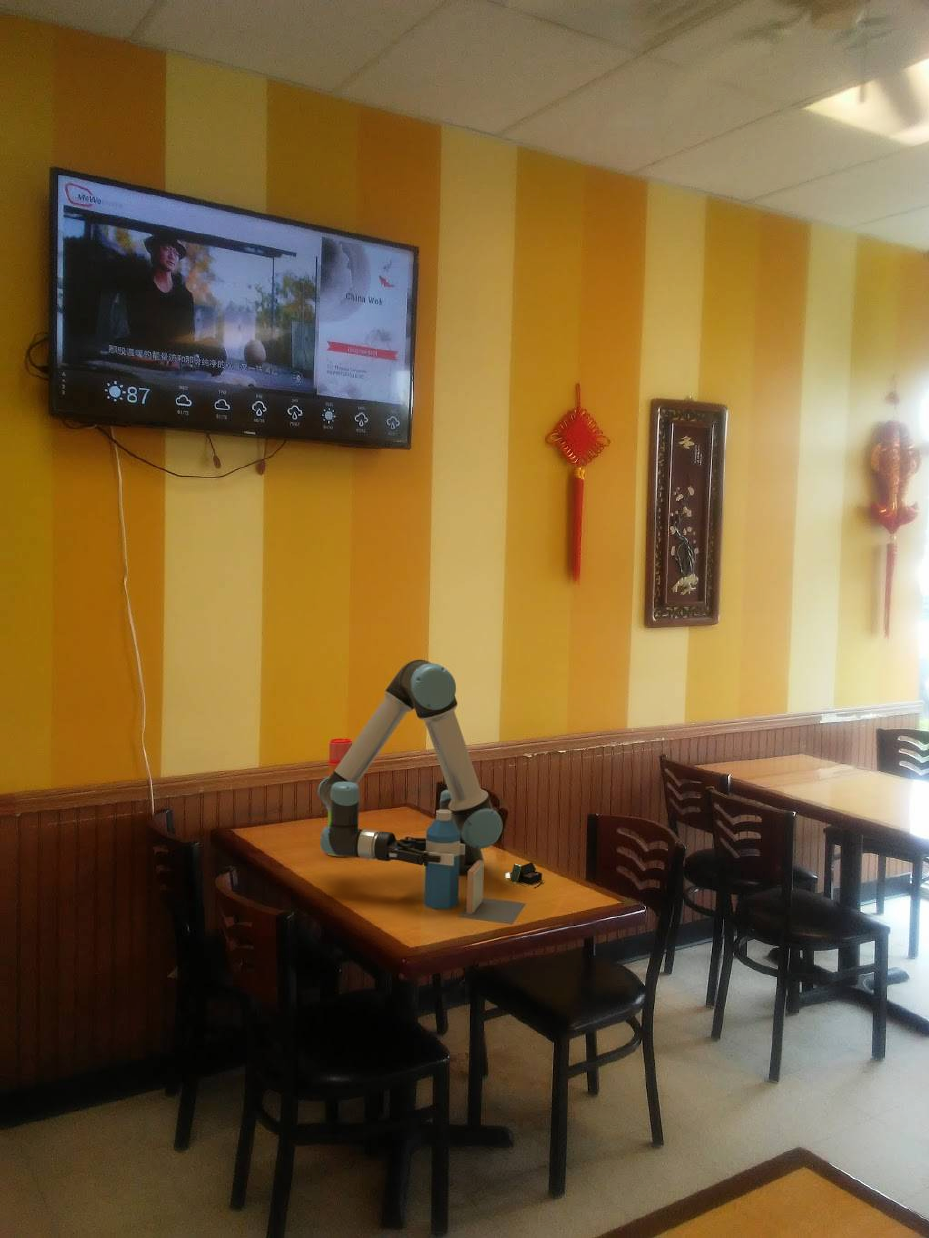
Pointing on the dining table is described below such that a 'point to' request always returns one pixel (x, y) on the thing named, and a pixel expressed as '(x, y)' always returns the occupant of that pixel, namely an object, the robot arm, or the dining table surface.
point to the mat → (495, 911)
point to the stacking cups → (336, 759)
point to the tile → (475, 886)
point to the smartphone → (525, 874)
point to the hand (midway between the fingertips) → (459, 854)
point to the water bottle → (437, 876)
